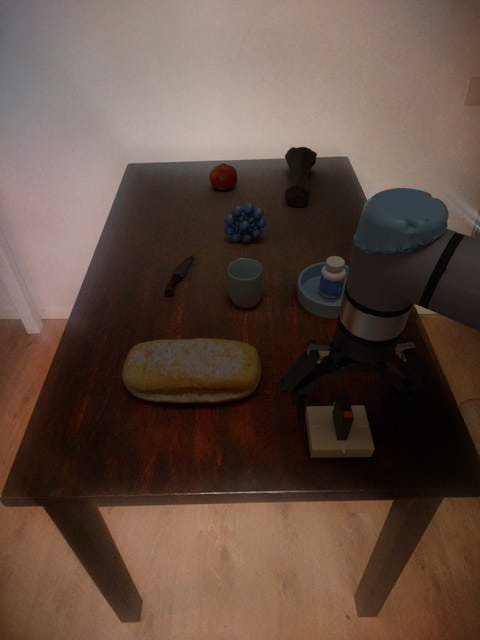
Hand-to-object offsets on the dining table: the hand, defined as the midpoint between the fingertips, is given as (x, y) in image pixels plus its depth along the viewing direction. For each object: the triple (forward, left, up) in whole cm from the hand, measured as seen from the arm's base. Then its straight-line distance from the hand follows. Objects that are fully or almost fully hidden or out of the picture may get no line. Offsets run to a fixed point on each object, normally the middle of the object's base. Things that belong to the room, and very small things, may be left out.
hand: (342, 411), depth 61 cm
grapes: (+48, -38, -8) cm, 62 cm away
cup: (+33, -18, -8) cm, 38 cm away
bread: (+28, +6, -8) cm, 30 cm away
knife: (+53, -16, -8) cm, 56 cm away
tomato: (+73, -59, -8) cm, 94 cm away
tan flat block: (0, 0, -8) cm, 8 cm away
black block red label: (0, 0, -5) cm, 5 cm away
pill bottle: (+18, -31, -8) cm, 37 cm away
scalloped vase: (+51, -73, -8) cm, 90 cm away
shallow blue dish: (+18, -31, -8) cm, 37 cm away
